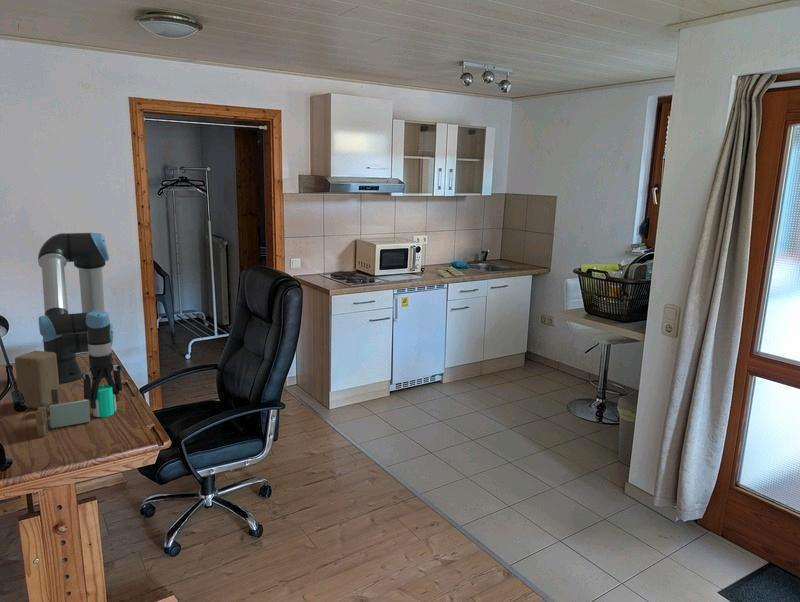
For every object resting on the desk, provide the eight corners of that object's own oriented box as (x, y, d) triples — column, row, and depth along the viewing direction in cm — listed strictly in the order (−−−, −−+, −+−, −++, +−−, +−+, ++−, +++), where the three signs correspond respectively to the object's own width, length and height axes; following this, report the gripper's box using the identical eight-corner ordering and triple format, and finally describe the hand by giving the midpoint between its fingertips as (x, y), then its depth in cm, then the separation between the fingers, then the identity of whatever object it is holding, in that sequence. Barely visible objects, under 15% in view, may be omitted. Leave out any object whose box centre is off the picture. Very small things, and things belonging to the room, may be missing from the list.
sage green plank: (51, 428, 200) (49, 406, 198) (51, 426, 201) (49, 405, 199) (90, 421, 206) (88, 400, 204) (90, 420, 207) (88, 399, 205)
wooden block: (41, 410, 215) (36, 359, 211) (18, 407, 217) (13, 357, 213) (61, 400, 225) (57, 351, 221) (40, 398, 227) (34, 349, 223)
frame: (56, 409, 217) (54, 385, 215) (62, 408, 217) (60, 385, 215) (37, 437, 194) (35, 411, 192) (44, 436, 194) (41, 410, 192)
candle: (100, 410, 217) (97, 380, 214) (116, 410, 217) (114, 380, 215) (93, 417, 211) (90, 386, 208) (110, 417, 211) (108, 386, 209)
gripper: (118, 346, 219) (122, 403, 224) (68, 358, 203) (74, 419, 208) (130, 349, 215) (134, 407, 220) (80, 362, 199) (85, 424, 204)
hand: (105, 412), depth 214 cm, fingers closed on candle, 6 cm apart
